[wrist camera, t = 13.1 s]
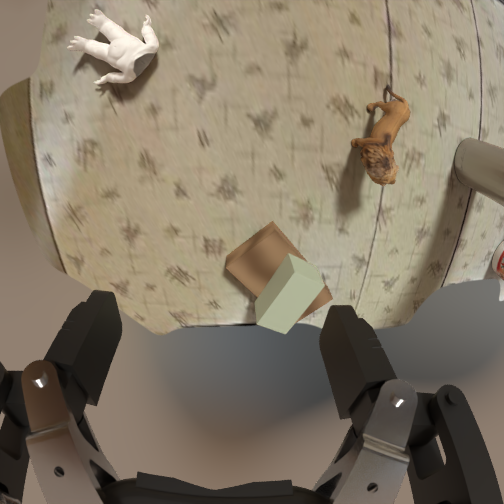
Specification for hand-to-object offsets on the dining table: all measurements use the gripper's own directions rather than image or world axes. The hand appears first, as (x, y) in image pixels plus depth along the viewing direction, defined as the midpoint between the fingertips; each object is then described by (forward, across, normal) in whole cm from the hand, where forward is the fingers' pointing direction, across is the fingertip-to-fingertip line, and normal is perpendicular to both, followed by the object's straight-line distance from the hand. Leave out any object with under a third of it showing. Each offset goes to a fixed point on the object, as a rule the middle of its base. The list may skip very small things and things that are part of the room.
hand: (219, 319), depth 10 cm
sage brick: (+26, -9, +17) cm, 33 cm away
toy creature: (+30, +17, -17) cm, 39 cm away
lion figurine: (+30, -20, -8) cm, 37 cm away
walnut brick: (+31, -9, +17) cm, 36 cm away
